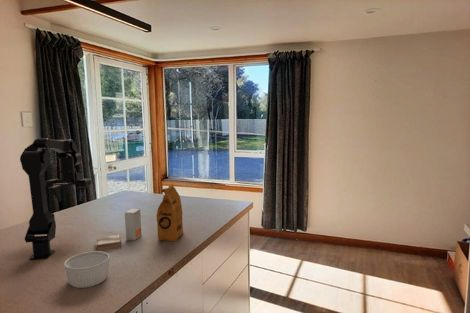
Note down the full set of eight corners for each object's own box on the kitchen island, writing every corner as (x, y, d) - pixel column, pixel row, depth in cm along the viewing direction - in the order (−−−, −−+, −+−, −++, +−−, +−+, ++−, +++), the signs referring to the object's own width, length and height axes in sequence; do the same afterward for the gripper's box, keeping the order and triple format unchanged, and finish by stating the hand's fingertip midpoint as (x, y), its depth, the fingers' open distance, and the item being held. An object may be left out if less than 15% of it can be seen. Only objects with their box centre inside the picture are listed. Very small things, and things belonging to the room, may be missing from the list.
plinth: (121, 247, 130) (121, 241, 129) (97, 251, 126) (96, 245, 126) (120, 239, 138) (120, 234, 138) (97, 243, 135) (97, 237, 134)
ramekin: (108, 266, 114) (106, 247, 113) (114, 283, 102) (112, 262, 101) (65, 276, 107) (63, 256, 106) (66, 295, 96) (64, 272, 95)
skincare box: (135, 240, 137) (133, 212, 135) (126, 240, 137) (124, 212, 136) (142, 235, 143) (140, 208, 141) (133, 234, 143) (131, 208, 142)
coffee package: (153, 241, 136) (150, 189, 133) (165, 230, 148) (162, 183, 145) (176, 242, 134) (174, 189, 131) (186, 231, 146) (184, 183, 143)
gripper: (95, 164, 154) (98, 197, 155) (57, 165, 155) (60, 197, 156) (83, 168, 142) (86, 203, 144) (42, 168, 143) (45, 203, 145)
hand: (69, 201), depth 148 cm, fingers open, 9 cm apart
